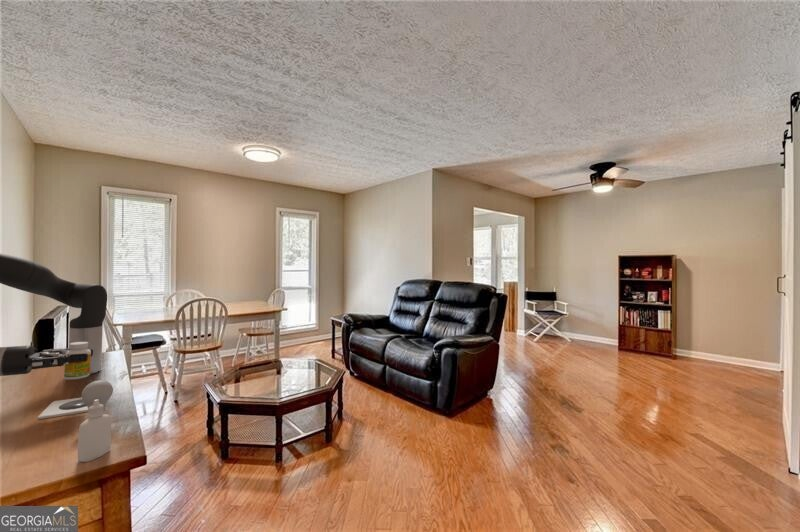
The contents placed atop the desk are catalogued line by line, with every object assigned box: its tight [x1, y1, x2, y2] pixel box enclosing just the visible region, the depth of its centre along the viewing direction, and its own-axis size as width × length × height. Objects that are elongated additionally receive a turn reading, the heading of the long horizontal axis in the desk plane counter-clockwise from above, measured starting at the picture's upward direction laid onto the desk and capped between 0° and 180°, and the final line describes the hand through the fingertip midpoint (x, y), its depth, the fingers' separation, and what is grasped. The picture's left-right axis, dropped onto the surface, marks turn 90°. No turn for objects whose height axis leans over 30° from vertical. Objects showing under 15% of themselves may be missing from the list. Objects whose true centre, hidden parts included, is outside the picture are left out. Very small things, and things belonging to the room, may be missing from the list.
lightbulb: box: [81, 379, 114, 414], centre depth 88 cm, size 6×6×11 cm
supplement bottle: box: [63, 342, 91, 380], centre depth 97 cm, size 5×5×10 cm
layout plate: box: [37, 396, 89, 420], centre depth 98 cm, size 12×13×1 cm
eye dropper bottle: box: [77, 399, 112, 463], centre depth 73 cm, size 4×6×12 cm
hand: (90, 354), depth 99 cm, fingers closed on supplement bottle, 5 cm apart
